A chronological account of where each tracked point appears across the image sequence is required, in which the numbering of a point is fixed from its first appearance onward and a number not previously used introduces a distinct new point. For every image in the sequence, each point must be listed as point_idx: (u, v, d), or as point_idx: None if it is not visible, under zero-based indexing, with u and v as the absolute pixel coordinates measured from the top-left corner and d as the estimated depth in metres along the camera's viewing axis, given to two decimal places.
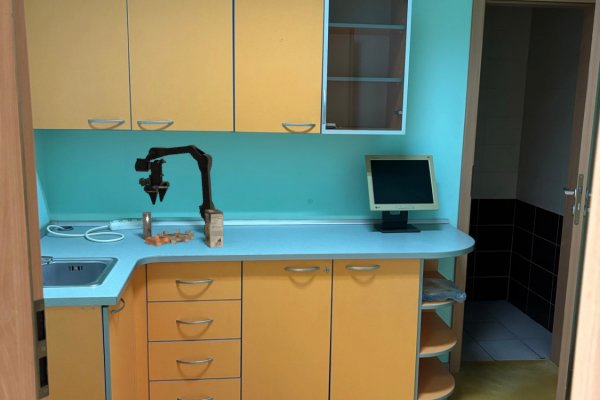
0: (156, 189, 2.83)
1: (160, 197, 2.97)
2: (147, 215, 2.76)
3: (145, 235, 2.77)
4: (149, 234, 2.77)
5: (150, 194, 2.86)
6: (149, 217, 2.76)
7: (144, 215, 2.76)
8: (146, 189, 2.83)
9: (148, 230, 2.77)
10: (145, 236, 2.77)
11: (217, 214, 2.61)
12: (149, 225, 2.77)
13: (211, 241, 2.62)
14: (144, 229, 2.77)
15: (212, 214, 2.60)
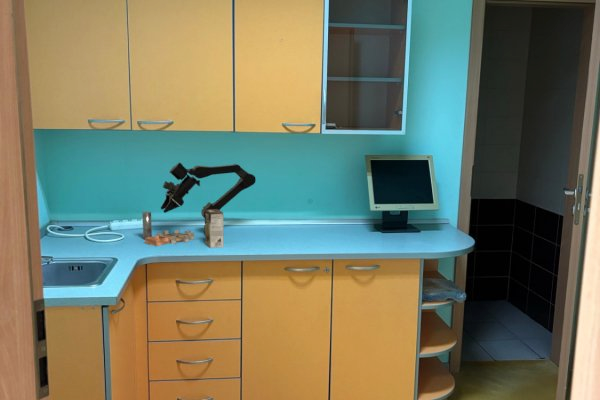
0: None
1: (164, 205, 2.84)
2: (147, 215, 2.76)
3: (145, 235, 2.77)
4: (149, 234, 2.77)
5: (171, 203, 2.75)
6: (149, 217, 2.76)
7: (144, 215, 2.76)
8: (175, 198, 2.72)
9: (148, 230, 2.77)
10: (145, 236, 2.77)
11: (217, 214, 2.61)
12: (149, 225, 2.77)
13: (211, 241, 2.62)
14: (144, 229, 2.77)
15: (212, 214, 2.60)
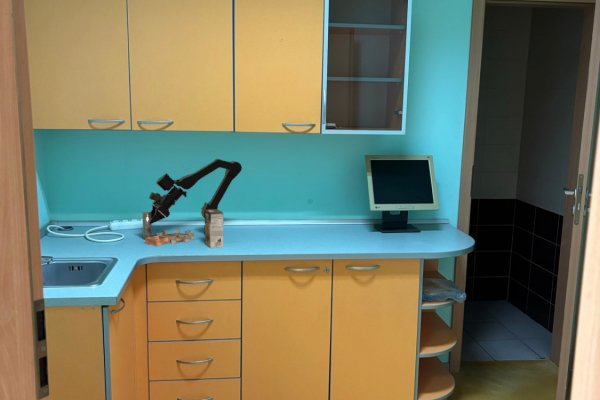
0: None
1: None
2: (147, 215, 2.76)
3: (145, 235, 2.77)
4: (149, 234, 2.77)
5: (157, 214, 2.73)
6: (149, 217, 2.76)
7: (144, 215, 2.76)
8: (161, 210, 2.70)
9: (148, 230, 2.77)
10: (145, 236, 2.77)
11: (217, 214, 2.61)
12: (149, 225, 2.77)
13: (211, 241, 2.62)
14: (144, 229, 2.77)
15: (212, 214, 2.60)
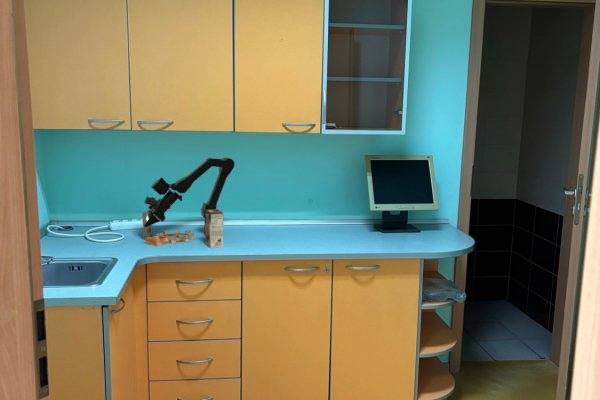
0: None
1: None
2: (147, 215, 2.76)
3: (145, 235, 2.77)
4: (149, 234, 2.77)
5: (151, 217, 2.75)
6: (149, 217, 2.76)
7: (144, 215, 2.76)
8: (156, 214, 2.70)
9: (148, 230, 2.77)
10: (145, 236, 2.77)
11: (217, 214, 2.61)
12: None
13: (211, 241, 2.62)
14: (144, 229, 2.77)
15: (212, 214, 2.60)
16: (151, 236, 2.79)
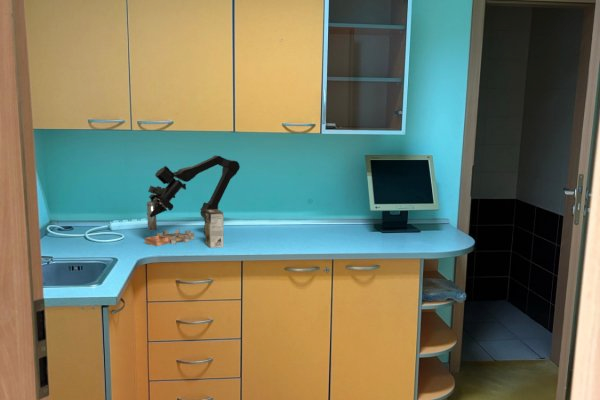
0: None
1: None
2: (152, 205, 2.70)
3: (150, 225, 2.71)
4: (154, 224, 2.72)
5: (157, 207, 2.69)
6: (154, 207, 2.71)
7: (149, 205, 2.70)
8: (165, 203, 2.65)
9: (153, 220, 2.71)
10: (150, 226, 2.71)
11: (217, 214, 2.61)
12: None
13: (211, 241, 2.62)
14: (150, 219, 2.71)
15: (212, 214, 2.60)
16: (156, 226, 2.73)
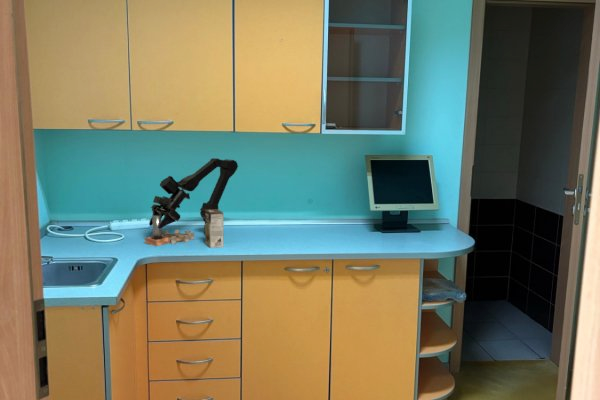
0: None
1: None
2: (158, 218, 2.68)
3: (156, 239, 2.69)
4: (160, 238, 2.70)
5: (166, 218, 2.66)
6: (160, 220, 2.69)
7: (155, 218, 2.67)
8: (173, 213, 2.64)
9: (159, 234, 2.69)
10: None
11: (217, 214, 2.61)
12: (160, 228, 2.69)
13: (211, 241, 2.62)
14: (156, 233, 2.68)
15: (212, 214, 2.60)
16: None
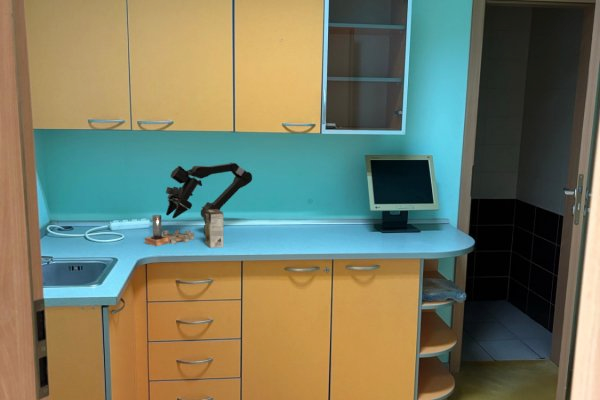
0: None
1: (169, 210, 2.81)
2: (158, 218, 2.68)
3: (156, 239, 2.69)
4: (160, 238, 2.70)
5: (178, 207, 2.72)
6: (160, 220, 2.69)
7: (155, 218, 2.67)
8: (183, 202, 2.70)
9: (159, 234, 2.69)
10: None
11: (217, 214, 2.61)
12: (160, 228, 2.69)
13: (211, 241, 2.62)
14: (156, 233, 2.68)
15: (212, 214, 2.60)
16: None
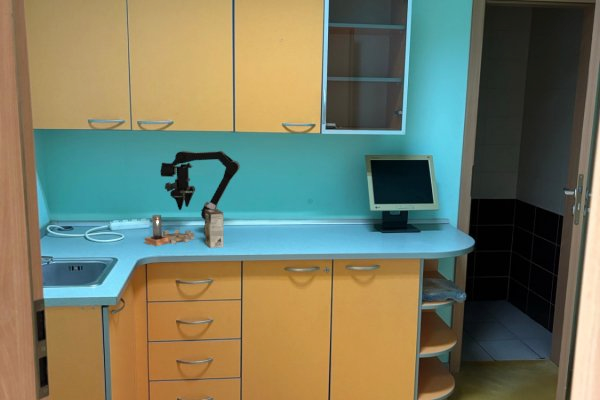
0: (183, 194, 2.79)
1: (186, 202, 2.93)
2: (158, 218, 2.68)
3: (156, 239, 2.69)
4: (160, 238, 2.70)
5: (176, 199, 2.82)
6: (160, 220, 2.69)
7: (155, 218, 2.67)
8: (173, 194, 2.79)
9: (159, 234, 2.69)
10: None
11: (217, 214, 2.61)
12: (160, 228, 2.69)
13: (211, 241, 2.62)
14: (156, 233, 2.68)
15: (212, 214, 2.60)
16: None
